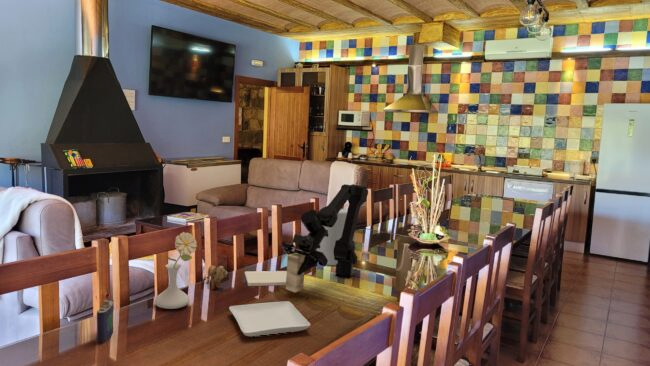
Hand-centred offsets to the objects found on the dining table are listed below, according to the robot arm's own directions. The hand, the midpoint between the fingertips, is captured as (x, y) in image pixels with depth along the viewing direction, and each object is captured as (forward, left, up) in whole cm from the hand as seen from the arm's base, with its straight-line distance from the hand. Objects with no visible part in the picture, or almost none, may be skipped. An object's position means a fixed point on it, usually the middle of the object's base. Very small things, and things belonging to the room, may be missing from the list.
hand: (292, 272), depth 176 cm
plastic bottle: (+2, -51, -9) cm, 52 cm away
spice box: (0, -1, -7) cm, 7 cm away
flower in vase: (+31, +28, -9) cm, 42 cm away
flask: (+33, +56, -9) cm, 65 cm away
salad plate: (-3, +26, -9) cm, 28 cm away
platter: (+16, -12, -9) cm, 22 cm away
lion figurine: (+30, +4, -9) cm, 32 cm away
